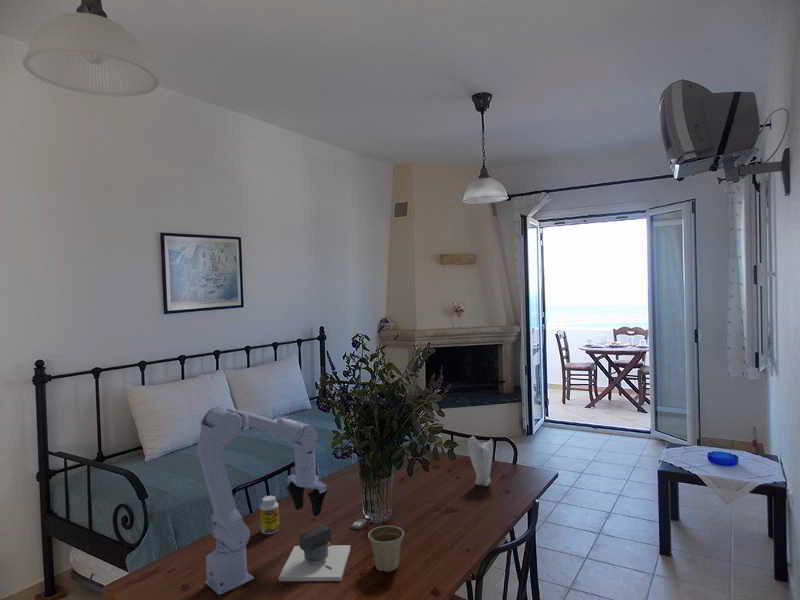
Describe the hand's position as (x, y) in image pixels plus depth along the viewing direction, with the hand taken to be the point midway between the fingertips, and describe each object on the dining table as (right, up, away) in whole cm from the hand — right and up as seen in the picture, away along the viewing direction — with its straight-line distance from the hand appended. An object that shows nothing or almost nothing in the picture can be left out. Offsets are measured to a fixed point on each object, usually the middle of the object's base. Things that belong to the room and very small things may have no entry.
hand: (308, 511), depth 147 cm
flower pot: (+23, -10, -12) cm, 28 cm away
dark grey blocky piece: (+4, -8, -10) cm, 13 cm away
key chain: (+16, -10, +15) cm, 24 cm away
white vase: (+57, -7, +42) cm, 71 cm away
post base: (+4, -10, -10) cm, 15 cm away
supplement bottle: (-14, -11, +11) cm, 20 cm away
